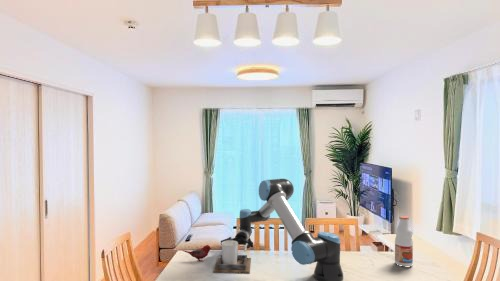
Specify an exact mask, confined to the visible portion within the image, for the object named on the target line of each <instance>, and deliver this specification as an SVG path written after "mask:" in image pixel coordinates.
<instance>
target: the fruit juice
mask: <svg viewBox="0 0 500 281" xmlns="http://www.w3.org/2000/svg"><path fill="white" fill-rule="evenodd" d="M409 217H410V216H407V215H400V216H399V222H398V225H397V226H396V227H395V238H394V264H395V263H396V264H398V265H402V266H411V265H412V264H413V261H414V260H413V259H414V258H413V257H414V256H413V253H414V252H413V251H414V248H413V247H414V246H413V244H414V241H413V238H412V237H413V234H414V233H413V230H412V228H411V226H410V223H409ZM396 264H395V265H396ZM398 265H397V266H398ZM413 265H414V264H413ZM413 265H412V266H413Z"/></svg>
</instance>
